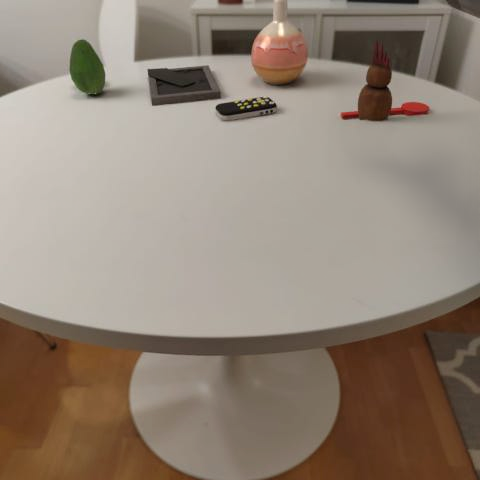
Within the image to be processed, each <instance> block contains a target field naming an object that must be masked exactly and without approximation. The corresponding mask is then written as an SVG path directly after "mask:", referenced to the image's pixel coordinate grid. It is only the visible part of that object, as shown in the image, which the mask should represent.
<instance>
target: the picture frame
mask: <svg viewBox="0 0 480 480" xmlns="http://www.w3.org/2000/svg"><path fill="white" fill-rule="evenodd" d="M146 71H147V76H148V85H149V93H150V101H151V105H152V106H159V105H158V104H160V105H168V104H170V105H171V104H178V102H180V103H187V101H190V102H197V101H198V102H200V101H208V99H210V100H218V99H222V91H221V89H220V86H219V84H218V82H217V80H216V78H215V75H214V74H213V72H212V70H211V68H210V65H196V66H186V67H175V68H168V67H161V68H147V69H146Z"/></svg>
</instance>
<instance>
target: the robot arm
mask: <svg viewBox="0 0 480 480" xmlns="http://www.w3.org/2000/svg"><path fill="white" fill-rule="evenodd" d="M445 2H446V3H447V5H449V6H450V7H451V8H453V9H455V10H458V11H460V12H463V13H465V14H468V15H470V16H472V17H475V18H478V19H480V0H445Z"/></svg>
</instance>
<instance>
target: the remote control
mask: <svg viewBox="0 0 480 480" xmlns="http://www.w3.org/2000/svg"><path fill="white" fill-rule="evenodd" d="M277 106H278V105H277V103H276V102H275V101H274V100H273V99H272V98H270V97H268V96H267V95H266V96H265V95H264V96H259V97H253V98H247V99H241V100H235V101H228V102H222V103H218V104H216V105H215V114H216V115H217V116H218V117H219V118H220V119H221V120H222V121H224V122H225V121H227V122H228V121H233V120H239V119H247V118H251V117H252V118H253V117H258V116H259V117H260V116H265V115H270V114H274V113H276V111H277Z"/></svg>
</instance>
